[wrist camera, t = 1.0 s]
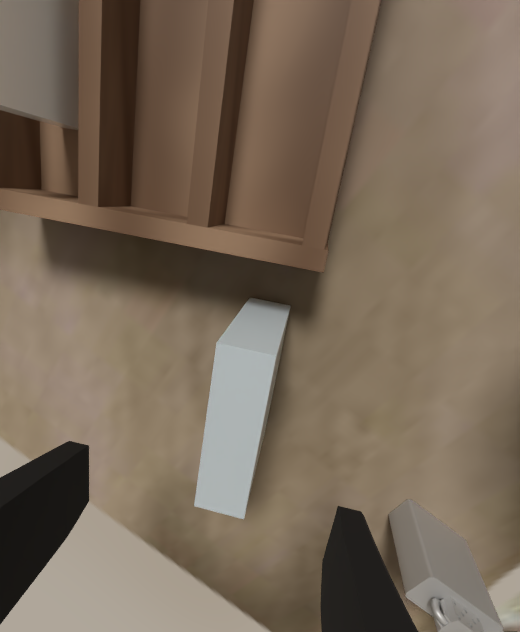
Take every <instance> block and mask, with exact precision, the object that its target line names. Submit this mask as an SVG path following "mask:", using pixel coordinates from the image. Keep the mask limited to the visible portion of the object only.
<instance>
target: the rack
mask: <svg viewBox="0 0 520 632" xmlns="http://www.w3.org/2000/svg"><path fill="white" fill-rule="evenodd" d="M381 2H382V0H79V111H78V130H73V129H67V128H62V127H58V126H55V125H51V124H48V123H44V122H41V121H37V120H34V119H30V118H27V117H23V116H20V115H16V114H13V113H9V112H6V111H2V110H0V210H5V211H10V212H15V213H20V214H26V215H31V216H36V217H41V218H46V219H51V220H56V221H61V222H67V223H72V224H77V225H82V226H87V227H92V228H97V229H102V230H108V231H113V232H118V233H123V234H128V235H133V236H138V237H143V238H149V239H154V240H159V241H164V242H169V243H174V244H179V245H184V246H190V247H195V248H200V249H205V250H210V251H215V252H220V253H225V254H231V255H236V256H241V257H246V258H251V259H256V260H261V261H267V262H272V263H277V264H282V265H287V266H292V267H297V268H302V269H308V270H313V271H318V272H323V273H324V269H325V264H326V260H327V255H328V251H329V250H328V244H327V243H328V238H329V234H330V229H331V225H332V220H333V216H334V211H335V207H336V202H337V198H338V193H339V189H340V185H341V180H342V176H343V171H344V167H345V162H346V158H347V153H348V149H349V144H350V140H351V135H352V131H353V127H354V122H355V118H356V113H357V109H358V104H359V100H360V95H361V91H362V86H363V82H364V77H365V73H366V68H367V64H368V60H369V55H370V51H371V46H372V42H373V37H374V33H375V28H376V24H377V19H378V15H379V10H380V6H381Z"/></svg>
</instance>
